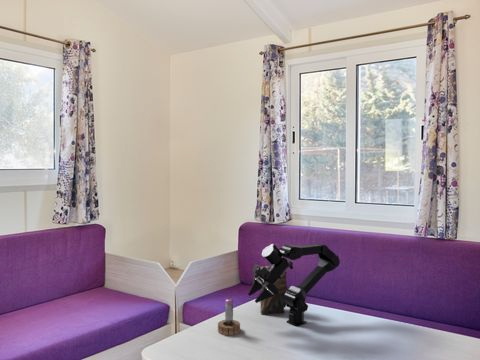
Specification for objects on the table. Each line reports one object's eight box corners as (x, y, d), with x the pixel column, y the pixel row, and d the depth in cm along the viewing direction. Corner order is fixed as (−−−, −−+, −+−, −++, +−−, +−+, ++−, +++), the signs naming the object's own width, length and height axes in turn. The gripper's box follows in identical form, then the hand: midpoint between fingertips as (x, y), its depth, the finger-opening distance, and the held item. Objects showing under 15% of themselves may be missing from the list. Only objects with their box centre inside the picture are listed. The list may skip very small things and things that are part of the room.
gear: (229, 324, 181) (229, 318, 181) (244, 331, 175) (244, 324, 175) (213, 330, 175) (213, 323, 175) (227, 337, 169) (228, 329, 169)
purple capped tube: (231, 328, 177) (231, 298, 177) (234, 331, 174) (234, 300, 174) (224, 330, 176) (224, 299, 175) (226, 332, 173) (227, 301, 172)
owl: (259, 305, 207) (260, 264, 206) (285, 306, 206) (286, 265, 205) (260, 314, 194) (260, 271, 193) (287, 315, 193) (288, 272, 193)
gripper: (256, 253, 185) (232, 280, 183) (271, 263, 167) (245, 293, 165) (273, 269, 188) (250, 296, 185) (290, 281, 170) (264, 310, 168)
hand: (252, 298), depth 176 cm, fingers open, 9 cm apart
